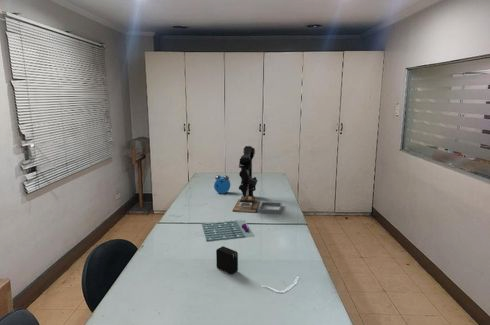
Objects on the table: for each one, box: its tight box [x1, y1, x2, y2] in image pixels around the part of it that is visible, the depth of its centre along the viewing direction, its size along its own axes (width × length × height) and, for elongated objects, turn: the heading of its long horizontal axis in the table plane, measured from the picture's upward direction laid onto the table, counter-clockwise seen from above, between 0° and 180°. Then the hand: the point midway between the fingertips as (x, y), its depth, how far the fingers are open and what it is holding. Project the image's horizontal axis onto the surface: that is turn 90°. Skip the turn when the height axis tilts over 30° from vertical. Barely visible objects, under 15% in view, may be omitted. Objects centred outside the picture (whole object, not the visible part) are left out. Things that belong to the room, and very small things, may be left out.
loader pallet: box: [232, 195, 260, 214], centre depth 241 cm, size 24×16×4 cm, turn 171°
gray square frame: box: [258, 201, 283, 214], centre depth 236 cm, size 16×15×2 cm
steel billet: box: [241, 189, 249, 200], centre depth 235 cm, size 4×4×8 cm
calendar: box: [201, 219, 255, 242], centre depth 202 cm, size 27×28×2 cm
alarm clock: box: [213, 175, 232, 195], centre depth 272 cm, size 13×6×15 cm, turn 86°
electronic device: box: [215, 245, 239, 275], centre depth 155 cm, size 4×10×10 cm, turn 51°
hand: (245, 195), depth 235 cm, fingers closed on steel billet, 4 cm apart
